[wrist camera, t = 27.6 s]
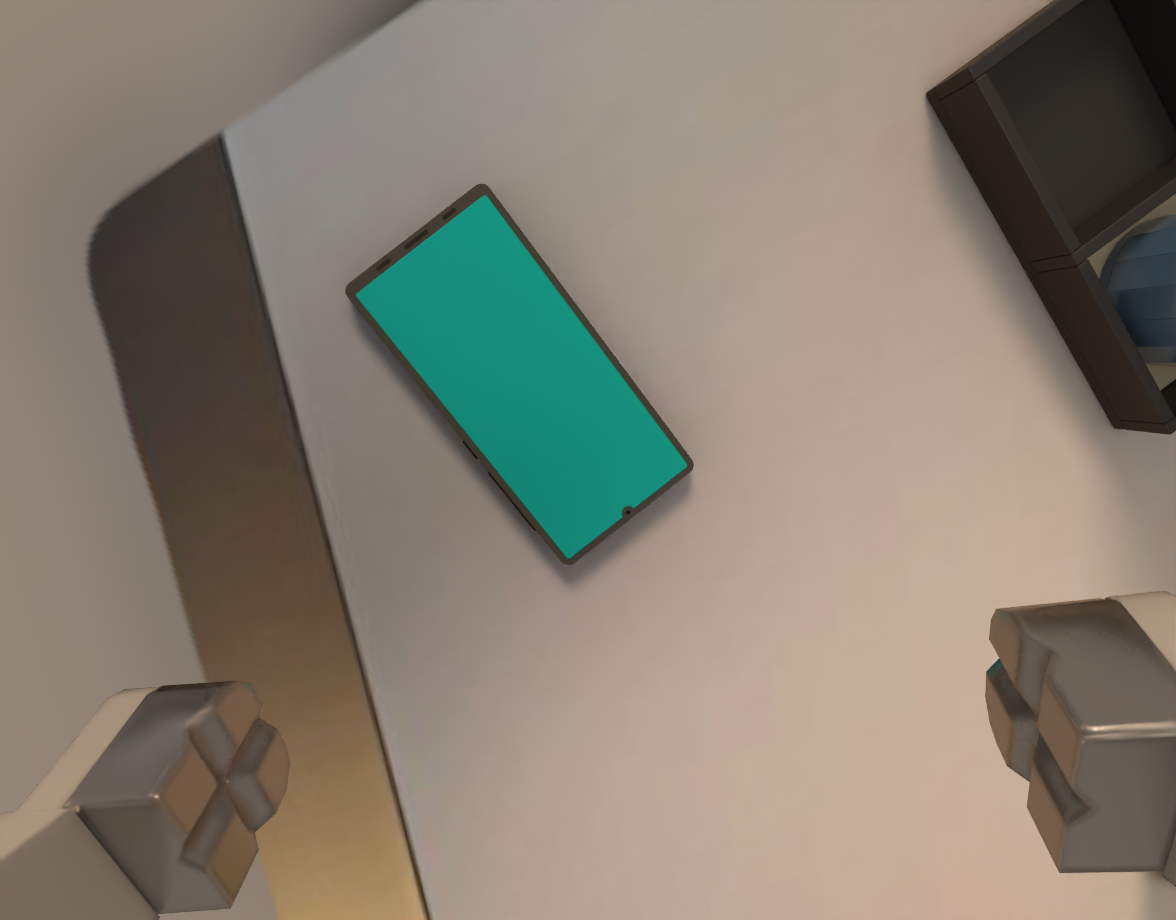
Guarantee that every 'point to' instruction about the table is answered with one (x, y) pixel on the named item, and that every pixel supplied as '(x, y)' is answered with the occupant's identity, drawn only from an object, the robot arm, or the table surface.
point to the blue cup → (1146, 287)
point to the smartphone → (520, 374)
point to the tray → (1078, 170)
